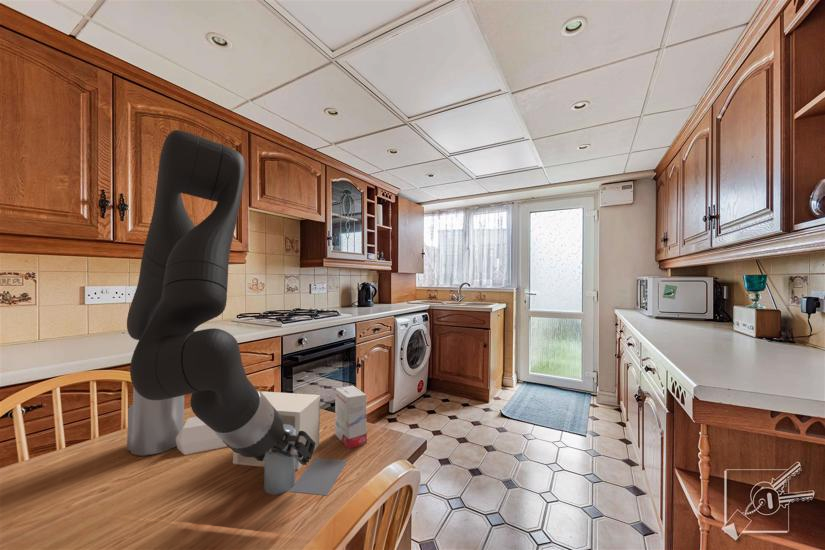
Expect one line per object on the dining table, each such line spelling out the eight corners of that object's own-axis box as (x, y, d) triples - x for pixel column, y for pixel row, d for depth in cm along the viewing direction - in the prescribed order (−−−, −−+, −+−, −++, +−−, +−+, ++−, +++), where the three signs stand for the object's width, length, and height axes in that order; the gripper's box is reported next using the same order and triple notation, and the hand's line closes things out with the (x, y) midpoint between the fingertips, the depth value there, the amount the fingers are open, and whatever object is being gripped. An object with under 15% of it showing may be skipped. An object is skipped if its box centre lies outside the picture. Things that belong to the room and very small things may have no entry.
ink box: (367, 446, 74) (368, 394, 75) (346, 451, 72) (348, 398, 72) (352, 431, 82) (353, 384, 82) (333, 436, 79) (334, 387, 79)
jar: (257, 496, 56) (259, 435, 56) (274, 478, 61) (275, 422, 62) (285, 499, 56) (286, 437, 56) (299, 480, 61) (301, 424, 61)
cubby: (232, 466, 65) (234, 407, 65) (261, 442, 75) (263, 391, 75) (298, 472, 63) (300, 412, 64) (318, 447, 73) (320, 395, 74)
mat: (289, 494, 57) (289, 491, 57) (315, 460, 68) (315, 457, 68) (327, 498, 56) (327, 495, 56) (347, 463, 67) (347, 460, 67)
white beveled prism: (288, 407, 87) (179, 424, 75) (292, 401, 81) (175, 419, 70) (289, 437, 83) (175, 460, 72) (293, 433, 78) (171, 457, 66)
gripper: (301, 400, 51) (327, 438, 62) (218, 394, 52) (257, 433, 63) (282, 451, 45) (314, 483, 56) (190, 443, 47) (239, 476, 58)
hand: (284, 457), depth 60 cm, fingers open, 8 cm apart
